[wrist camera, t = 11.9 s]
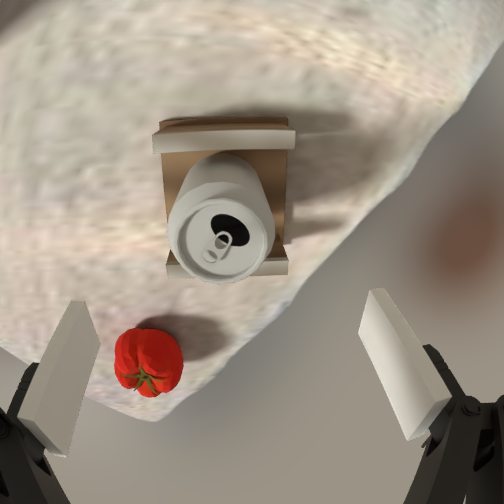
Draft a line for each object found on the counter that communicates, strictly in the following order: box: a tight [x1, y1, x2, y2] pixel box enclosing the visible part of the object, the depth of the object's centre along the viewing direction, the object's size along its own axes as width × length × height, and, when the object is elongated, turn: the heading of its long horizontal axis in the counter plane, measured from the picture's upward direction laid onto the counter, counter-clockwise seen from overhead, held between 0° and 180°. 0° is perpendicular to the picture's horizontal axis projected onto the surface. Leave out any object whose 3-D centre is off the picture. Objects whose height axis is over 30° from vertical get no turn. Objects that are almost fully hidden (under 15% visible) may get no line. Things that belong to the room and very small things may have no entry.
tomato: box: [114, 328, 184, 397], centre depth 38 cm, size 9×9×8 cm
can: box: [167, 153, 275, 284], centre depth 26 cm, size 8×8×12 cm
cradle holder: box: [152, 117, 296, 279], centre depth 29 cm, size 14×12×7 cm
